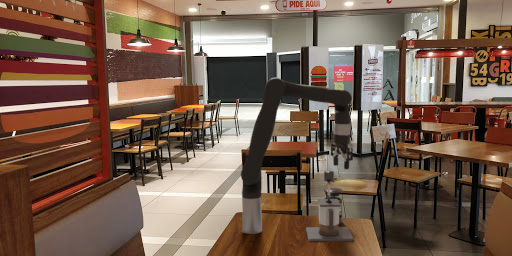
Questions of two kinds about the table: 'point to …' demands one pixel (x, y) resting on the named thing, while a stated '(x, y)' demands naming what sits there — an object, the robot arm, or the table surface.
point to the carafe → (329, 217)
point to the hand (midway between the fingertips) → (341, 167)
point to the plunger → (328, 180)
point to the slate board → (315, 236)
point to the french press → (335, 193)
